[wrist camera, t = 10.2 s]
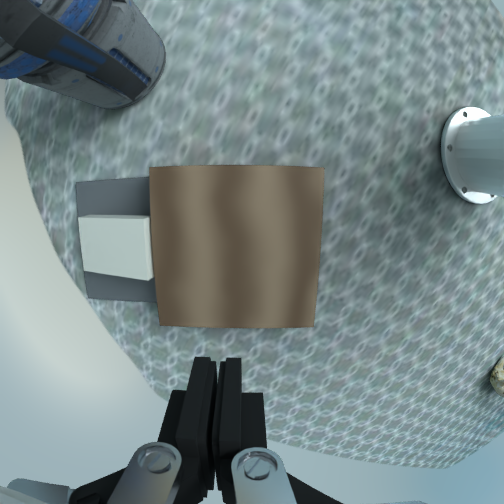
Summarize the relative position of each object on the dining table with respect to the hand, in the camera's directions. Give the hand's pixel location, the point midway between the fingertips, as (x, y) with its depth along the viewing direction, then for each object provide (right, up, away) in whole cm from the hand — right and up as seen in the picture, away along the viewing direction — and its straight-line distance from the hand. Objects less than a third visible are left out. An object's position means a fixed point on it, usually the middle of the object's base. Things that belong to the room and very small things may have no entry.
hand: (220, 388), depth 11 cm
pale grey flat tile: (-13, +6, +21) cm, 25 cm away
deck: (0, +6, +22) cm, 23 cm away
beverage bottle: (-12, +25, +17) cm, 32 cm away
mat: (-14, +6, +22) cm, 27 cm away
